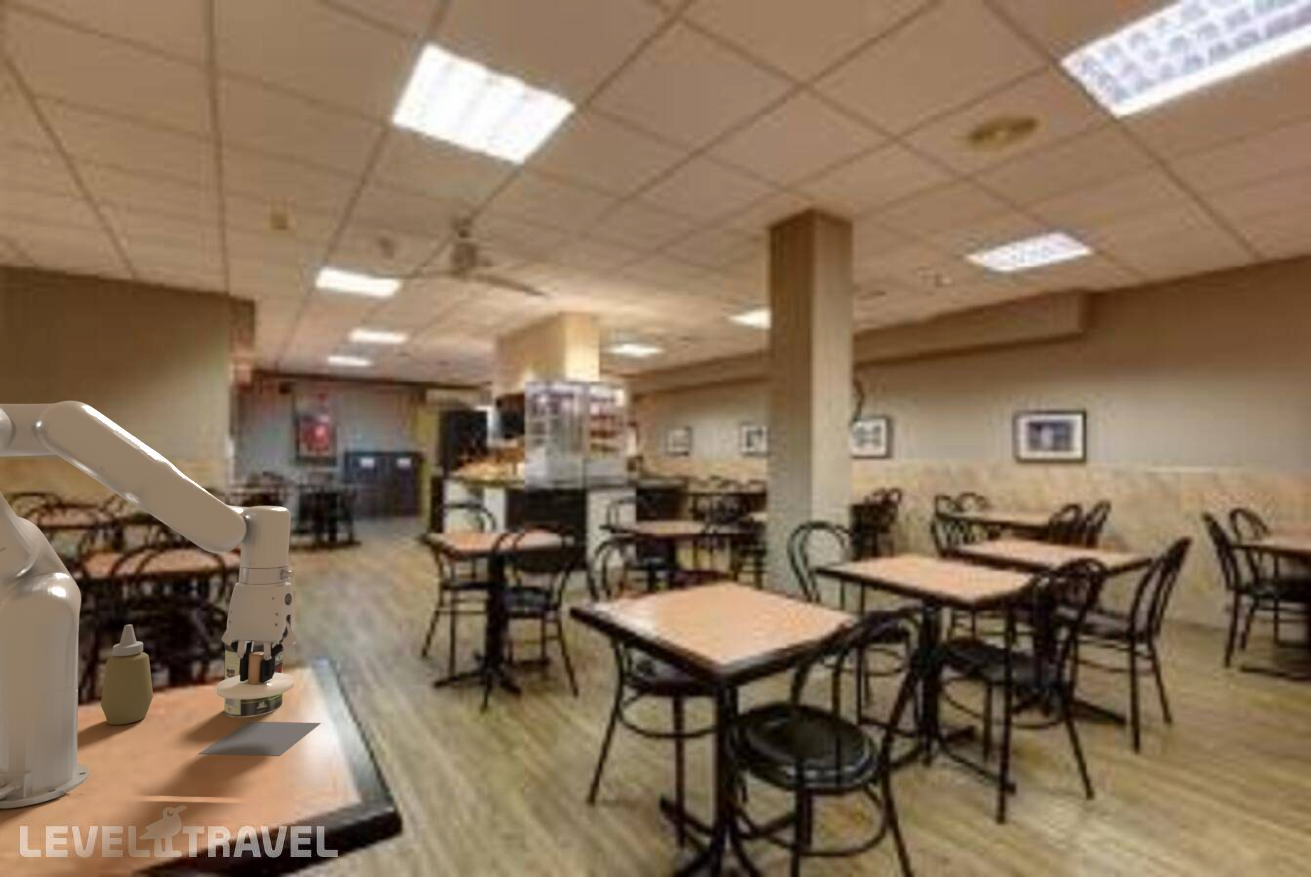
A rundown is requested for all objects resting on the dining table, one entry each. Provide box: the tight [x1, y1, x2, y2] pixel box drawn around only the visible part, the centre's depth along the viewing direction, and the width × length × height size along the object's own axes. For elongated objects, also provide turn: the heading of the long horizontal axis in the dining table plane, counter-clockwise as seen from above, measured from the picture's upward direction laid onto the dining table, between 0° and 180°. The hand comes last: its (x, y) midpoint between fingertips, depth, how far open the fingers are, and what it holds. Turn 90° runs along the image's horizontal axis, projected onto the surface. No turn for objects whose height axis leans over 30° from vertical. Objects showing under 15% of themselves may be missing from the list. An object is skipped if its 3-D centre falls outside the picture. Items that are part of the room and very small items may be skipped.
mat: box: [198, 720, 322, 757], centre depth 128 cm, size 14×14×1 cm
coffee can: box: [223, 637, 284, 718], centre depth 143 cm, size 10×10×14 cm
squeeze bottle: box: [100, 624, 154, 726], centre depth 137 cm, size 8×8×18 cm
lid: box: [215, 652, 295, 699], centre depth 128 cm, size 12×12×6 cm
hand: (256, 679), depth 128 cm, fingers closed on lid, 2 cm apart
